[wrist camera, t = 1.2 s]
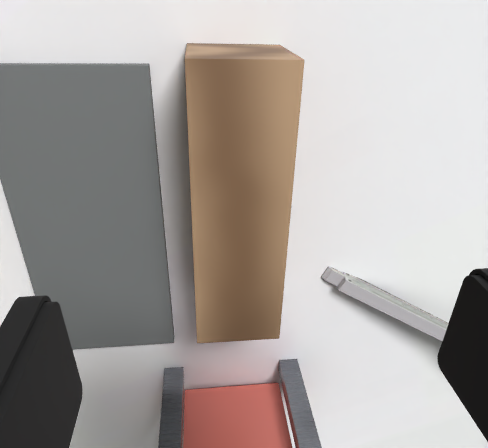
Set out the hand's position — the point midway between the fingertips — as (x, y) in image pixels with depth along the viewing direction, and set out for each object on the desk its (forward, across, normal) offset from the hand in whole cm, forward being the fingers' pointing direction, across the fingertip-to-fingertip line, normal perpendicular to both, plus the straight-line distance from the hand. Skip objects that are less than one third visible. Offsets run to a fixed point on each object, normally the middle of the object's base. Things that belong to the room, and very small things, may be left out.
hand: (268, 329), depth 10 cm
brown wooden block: (+17, -1, +4) cm, 17 cm away
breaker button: (+16, 0, +24) cm, 29 cm away
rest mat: (+17, +8, +6) cm, 20 cm away
